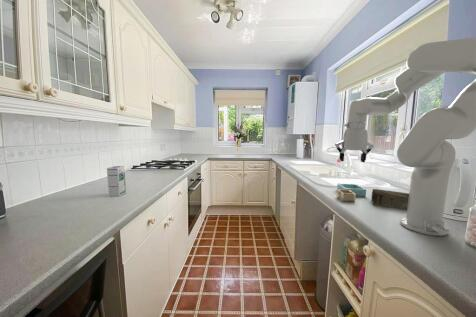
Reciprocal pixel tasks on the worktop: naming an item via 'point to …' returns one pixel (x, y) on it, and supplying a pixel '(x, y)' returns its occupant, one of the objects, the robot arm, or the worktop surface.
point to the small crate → (346, 195)
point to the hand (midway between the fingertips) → (352, 161)
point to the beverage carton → (390, 198)
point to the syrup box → (116, 181)
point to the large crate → (353, 189)
